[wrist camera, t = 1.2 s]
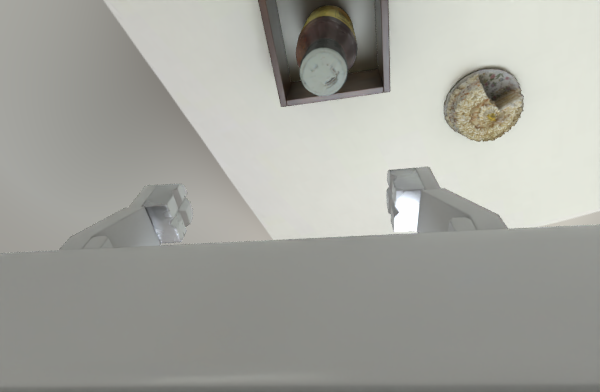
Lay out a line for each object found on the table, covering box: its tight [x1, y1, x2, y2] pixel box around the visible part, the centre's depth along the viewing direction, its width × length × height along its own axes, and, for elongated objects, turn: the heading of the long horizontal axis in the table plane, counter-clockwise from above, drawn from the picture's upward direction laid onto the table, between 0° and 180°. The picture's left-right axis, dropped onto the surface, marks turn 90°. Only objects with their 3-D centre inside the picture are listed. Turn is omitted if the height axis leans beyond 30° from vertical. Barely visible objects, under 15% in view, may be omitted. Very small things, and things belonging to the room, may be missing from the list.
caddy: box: [258, 0, 390, 107], centre depth 42 cm, size 14×14×7 cm
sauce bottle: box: [296, 6, 357, 96], centre depth 37 cm, size 7×6×20 cm
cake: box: [444, 69, 524, 142], centre depth 47 cm, size 10×10×5 cm
